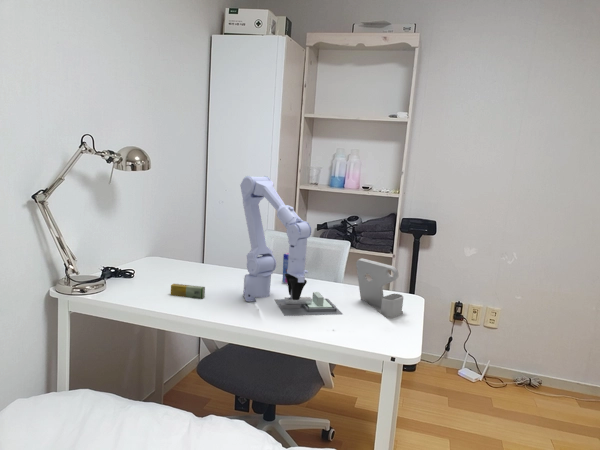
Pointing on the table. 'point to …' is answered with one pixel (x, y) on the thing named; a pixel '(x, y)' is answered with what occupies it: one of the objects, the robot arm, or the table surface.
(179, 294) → the medication box
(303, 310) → the panel
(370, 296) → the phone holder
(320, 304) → the cover
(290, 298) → the brushed metal bar
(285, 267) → the ink cartridge box
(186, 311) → the table surface
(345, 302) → the table surface
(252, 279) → the robot arm
